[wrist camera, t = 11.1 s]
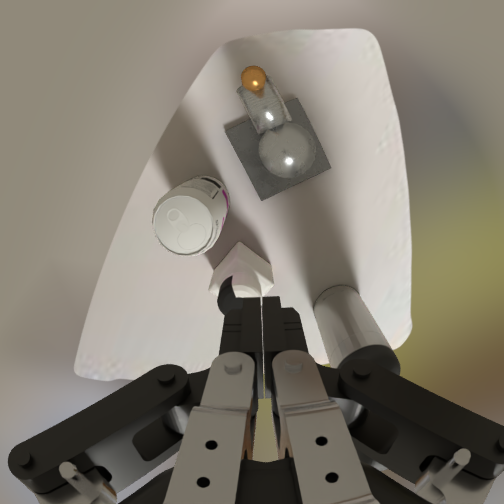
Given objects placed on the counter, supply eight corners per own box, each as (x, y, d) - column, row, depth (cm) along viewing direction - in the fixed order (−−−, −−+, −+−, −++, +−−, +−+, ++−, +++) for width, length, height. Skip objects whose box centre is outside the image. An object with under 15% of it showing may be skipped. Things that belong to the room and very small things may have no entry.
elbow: (312, 161, 39) (328, 166, 30) (270, 179, 40) (275, 189, 31) (270, 75, 35) (275, 56, 26) (228, 93, 36) (220, 79, 27)
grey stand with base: (329, 167, 44) (343, 172, 37) (261, 199, 46) (262, 210, 39) (296, 98, 40) (304, 90, 33) (225, 131, 42) (219, 129, 35)
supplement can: (240, 205, 46) (234, 233, 32) (200, 235, 48) (179, 274, 34) (208, 164, 44) (188, 174, 30) (169, 196, 45) (134, 220, 31)
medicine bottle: (246, 294, 52) (244, 335, 40) (213, 271, 50) (202, 308, 39) (272, 265, 50) (277, 301, 38) (238, 240, 48) (234, 270, 37)
